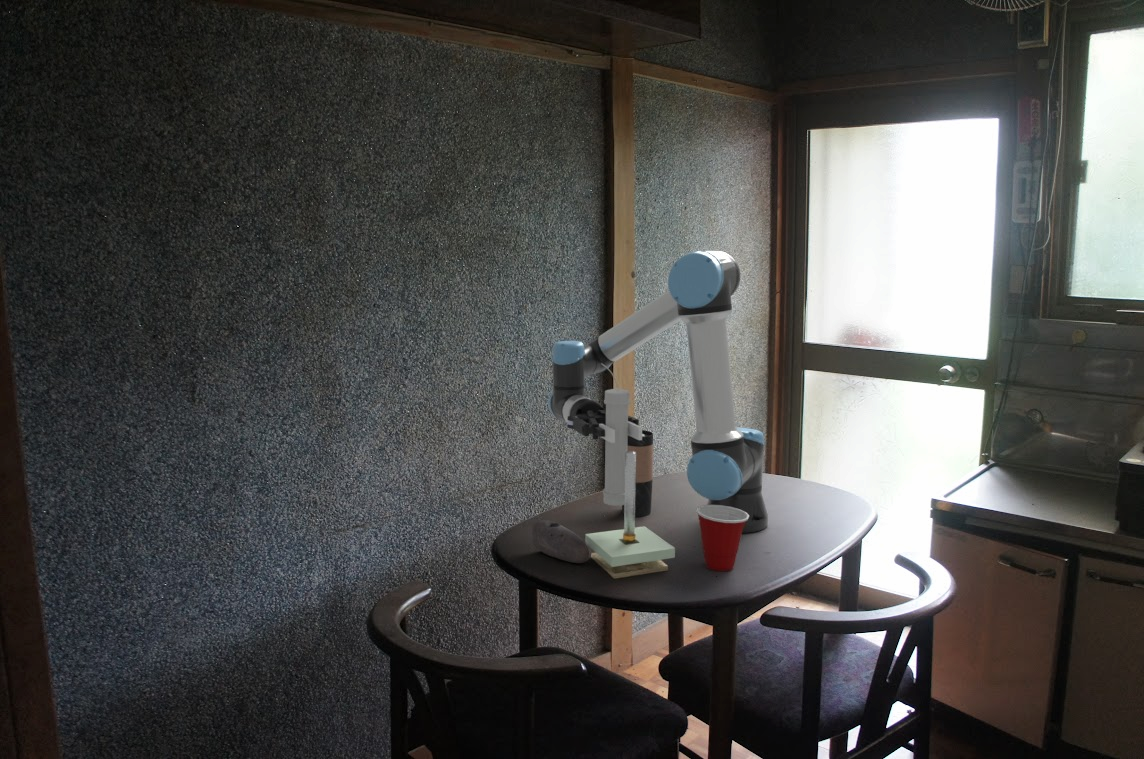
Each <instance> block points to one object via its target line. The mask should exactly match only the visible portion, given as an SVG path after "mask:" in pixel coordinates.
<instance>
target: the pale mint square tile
mask: <svg viewBox="0 0 1144 759" xmlns="http://www.w3.org/2000/svg"><path fill="white" fill-rule="evenodd" d="M623 534H624V528H622V529H615V530H607V531H599V532H593V533H591V532H590V533H586V534H584V536H585V539H584V542H585V543H586V545H587V547H589V548H590V549H591V550H592V551H593V552H594V553H595V552H596V553H597V554H598V555H599V556H600V557H601V558H603V559H604V560H605V561H606V562H607V563H608V564H609V565H610V566H612V567H615V566H622V565H628V564H635V563H642V562H648V561H655V560H661V561H663V560H666V559H675V558H676V548H675V547H674V546H673V545H672V544H670V543H669V542H667V541H665V540H664V539H663V538H661V537H660V536H659V535H657V534H656V533H655V532H653V531H652V530H650V529H649V528H647V527H646V526H637V527H636V526H635V535H636V538H635V541H634V544H628V545H625V544H624V541H623Z"/></svg>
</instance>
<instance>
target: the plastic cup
mask: <svg viewBox="0 0 1144 759" xmlns="http://www.w3.org/2000/svg"><path fill="white" fill-rule="evenodd" d="M695 512H696V513H697V516H698V521H699V527H700V528H699V529H700V535H701V536H700V537H701V545H702V550H703V551H702V552H703V555H704V556H703V557H704V563H705V566H706V567H707V568H708V569H710V570H712V571H715V572H717V571H718V572H727V571H731V570H733V569H734V567H735V563H736V558H737V554H738V552H739V547H740V543H741V540H742V539H741V538H742V531H743V528H744V525H745V523H746V521H747V520H748V518H749V515H748V514H747V513H746V512H744V511H742V510H740V509H737V508H733V507H729V506H722V505H705V504H703V505H700V506H698V507H697V508H696V509H695Z"/></svg>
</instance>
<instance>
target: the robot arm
mask: <svg viewBox="0 0 1144 759" xmlns="http://www.w3.org/2000/svg"><path fill="white" fill-rule="evenodd" d="M740 283H741V269H740V267H739V264H738V262H737V261H736V260H735V258H734V257H732V256H731V255H730V254H728V253H726V252H724V251H722V250H695V251H693V252H689V253H685V254H684V255H682V256H681V257H679V258H678V259H677V260H676V261H675V262H674V263H673V265H672V267H671V268H670V270H669V273H668V278H667V287H668V290H666V291H665V292H664V293H663V294H660V296H657V297H656V298H655V299H654V300H652V301H650V302H649V303H647V304H646V305H644V306H643V307H641V308H639V310H636V311H635V312H634V313H632V314H631V315H629V316H627V317H626V318H624V319H623V320H622V321H620V322H619V323H617V324H615V325H614V326H613V327H611V328H609V329H607V331H605V332H603V333H602V334H600V335H599V336H598V337H596V338H594V339H593V340H592V341H590V342H588V343H587V344H584V343H583V342H582V341H578V340H561V341H556V342H555V343H553V347H552V356H551V359H552V382H553V383H552V384H553V386H552V387H553V388H552V392H551V394H550V395H549V397H548V400H547V407H548V410H549V412H550V413H551V414H552V415H553V416H554V418H556V419H558V420H559V421H562V422H565V423H567V428H568V429H571V430H574V431H575V432H577V433H579V434H580V435H582V436H584V437H589V436H590V434H591V436H592V440H599V438H602V439H603V440H607V441H609V442H610V443H615V430H614V429H612V428H610V427H608V426H606V409H605V408H604V407H603V405H602V404H600V403H599V402H597V401H596V400H593V399H591V398H589V397H587V396H585V387H586V386H585V382H586V381H585V380H586V379H585V377H588V376H591V375H595V374H600V373H602V372H604V371H606V370H608V369H609V368H610V367H611V365H612V364H614V363H615V362H617V361H618V360H620V359H621V358H623V357H624V356H626V355H628V354H629V353H631V352H632V351H634V350H636V349H637V348H639V347H640V346H642V345H644V344H645V343H647V342H648V341H650V340H652V339H653V338H655V337H656V336H658V335H659V334H661V333H663V332H664V331H666V330H667V329H669V328H671V327H673V326H674V325H676V324H677V323H679V322H681V321H683V322H684V323H685V326H686V335H687V346H688V356H689V365H690V378H691V386H692V395H693V396H692V397H693V406H694V407H693V408H694V416H695V427H696V429H695V430H696V431H695V432H694V433H693V434H692V435H691V437H690V446H691V447H690V448H691V455H692V456H691V458H690V459H689V461H688V464H687V467H686V476H687V480H688V483H689V485H690V486H691V487H690V488H692V489H693V491H695V493H697V494H698V495H699V496H701V497H702V498H705V499H707V502H706V505H722V506H729V507H733V508H737V509H740V510H742V511H744V512H746V513H747V514H748V515H749V518H748V520H747V521H746V523H745V525H744V528H743V531H742V533H743V534H744V533H755V532H759V531H763V530H765V529H766V528H767V527H768V524H769V513H768V510H767V508H766V504H765V501H764V496H763V492H762V491H763V489H762V487H763V470H764V469H763V468H764V451H765V450H764V449H765V448H764V447H765V444H766V443H765V436H764V433H763V432H762V431H760V430H758V429H755V428H754V429H753V428H748V427H739V426H736V415H735V407H734V406H735V404H734V395H733V394H734V393H733V384H732V372H731V362H730V351H729V341H728V330H727V318H728V317H729V315H730V314H731V313H732V312H733V307H732V305H733V303H732V298H731V297H732V296H733V295H734V294H735V293H736V291H737V290H738V289H739V286H740ZM601 363H602V364H604V365H605V366H606V367H607V368H608V369H607V368H606V367H605V366H603V365H602V364H601ZM639 422H640V419H638V418H635V417H633V416H631V415H628V435H629V436H631V437H633V438H635V439H637V440H642V430H643V427H642V426H640V423H639Z"/></svg>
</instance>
